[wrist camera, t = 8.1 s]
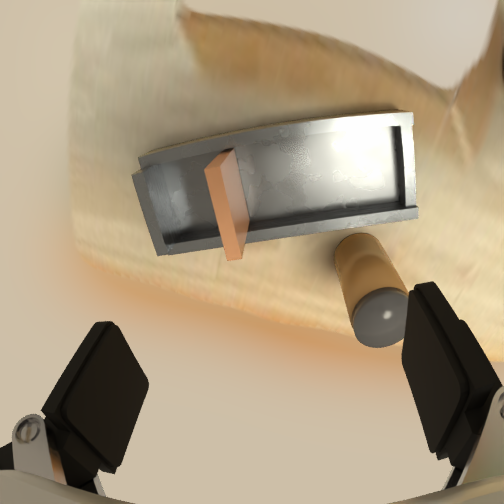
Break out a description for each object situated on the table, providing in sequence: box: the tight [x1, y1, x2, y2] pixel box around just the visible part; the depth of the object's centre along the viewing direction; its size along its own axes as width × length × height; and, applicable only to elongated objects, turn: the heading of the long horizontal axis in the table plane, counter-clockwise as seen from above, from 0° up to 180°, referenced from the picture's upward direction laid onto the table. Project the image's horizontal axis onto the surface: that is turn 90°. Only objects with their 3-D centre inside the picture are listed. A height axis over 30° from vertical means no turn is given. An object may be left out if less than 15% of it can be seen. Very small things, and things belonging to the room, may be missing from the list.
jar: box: [334, 233, 409, 348], centre depth 26 cm, size 5×5×10 cm
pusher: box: [204, 148, 250, 261], centre depth 24 cm, size 1×6×7 cm, turn 12°
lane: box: [132, 110, 418, 256], centre depth 25 cm, size 22×9×5 cm, turn 101°
